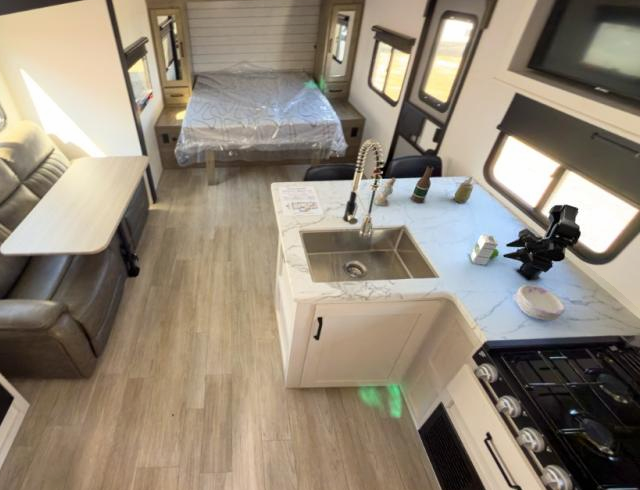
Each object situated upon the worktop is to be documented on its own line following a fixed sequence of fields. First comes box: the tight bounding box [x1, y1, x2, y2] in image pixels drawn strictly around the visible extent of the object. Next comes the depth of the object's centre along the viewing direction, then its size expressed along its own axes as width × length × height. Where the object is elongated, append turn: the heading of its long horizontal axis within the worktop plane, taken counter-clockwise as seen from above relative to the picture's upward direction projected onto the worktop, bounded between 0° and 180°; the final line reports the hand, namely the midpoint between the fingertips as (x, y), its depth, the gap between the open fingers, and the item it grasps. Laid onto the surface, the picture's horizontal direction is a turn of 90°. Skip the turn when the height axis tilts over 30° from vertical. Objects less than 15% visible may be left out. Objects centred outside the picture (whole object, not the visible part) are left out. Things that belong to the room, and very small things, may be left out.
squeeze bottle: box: [454, 175, 474, 204], centre depth 197 cm, size 8×8×18 cm
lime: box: [489, 248, 500, 259], centre depth 161 cm, size 5×5×5 cm
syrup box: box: [469, 234, 499, 266], centre depth 157 cm, size 6×6×14 cm
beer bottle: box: [411, 165, 434, 204], centre depth 196 cm, size 8×8×24 cm
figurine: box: [374, 177, 397, 206], centre depth 196 cm, size 9×8×20 cm
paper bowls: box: [513, 284, 566, 322], centre depth 135 cm, size 15×15×8 cm
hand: (504, 250), depth 150 cm, fingers open, 9 cm apart
